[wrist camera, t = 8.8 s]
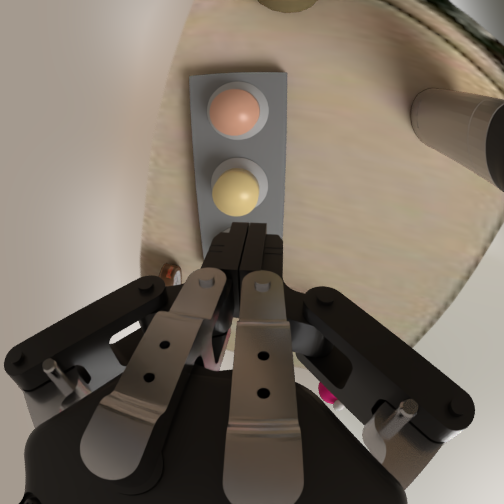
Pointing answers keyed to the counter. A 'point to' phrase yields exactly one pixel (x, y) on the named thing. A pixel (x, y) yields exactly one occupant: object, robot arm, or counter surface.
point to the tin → (171, 274)
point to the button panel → (240, 149)
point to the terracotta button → (234, 112)
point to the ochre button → (236, 192)
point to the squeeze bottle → (287, 5)
